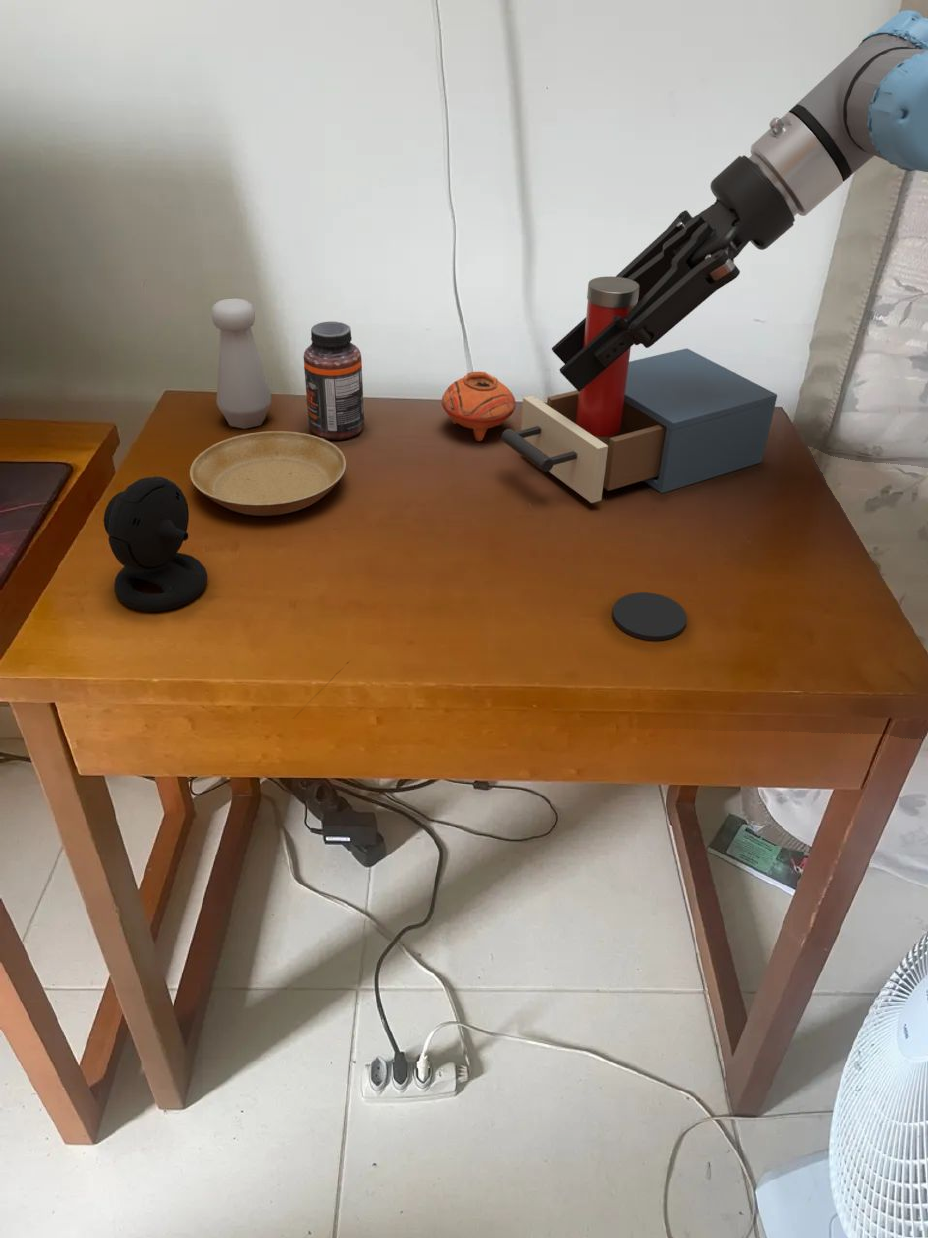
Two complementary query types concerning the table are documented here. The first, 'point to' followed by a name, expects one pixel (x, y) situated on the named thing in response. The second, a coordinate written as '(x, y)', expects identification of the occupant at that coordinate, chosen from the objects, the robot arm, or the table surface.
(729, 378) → the cabinet
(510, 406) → the pot
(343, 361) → the supplement bottle
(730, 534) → the table surface
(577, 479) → the drawer
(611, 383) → the disc
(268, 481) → the plant saucer
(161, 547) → the webcam
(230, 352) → the salt shaker
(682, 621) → the coaster
